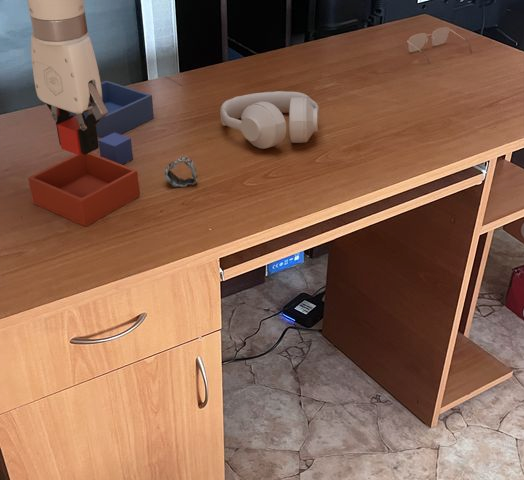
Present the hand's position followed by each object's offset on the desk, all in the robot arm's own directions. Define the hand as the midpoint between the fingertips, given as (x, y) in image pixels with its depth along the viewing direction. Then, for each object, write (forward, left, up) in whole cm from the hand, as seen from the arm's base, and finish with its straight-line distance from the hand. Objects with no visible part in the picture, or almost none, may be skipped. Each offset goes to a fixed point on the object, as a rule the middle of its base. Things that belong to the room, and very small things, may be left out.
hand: (79, 145), depth 122 cm
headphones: (+9, +39, -10) cm, 41 cm away
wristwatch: (+9, +13, -10) cm, 18 cm away
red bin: (0, 0, -9) cm, 9 cm away
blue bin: (-19, +24, -9) cm, 32 cm away
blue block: (-6, +13, -9) cm, 17 cm away
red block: (0, 0, 0) cm, 0 cm away
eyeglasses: (+15, +96, -10) cm, 98 cm away
